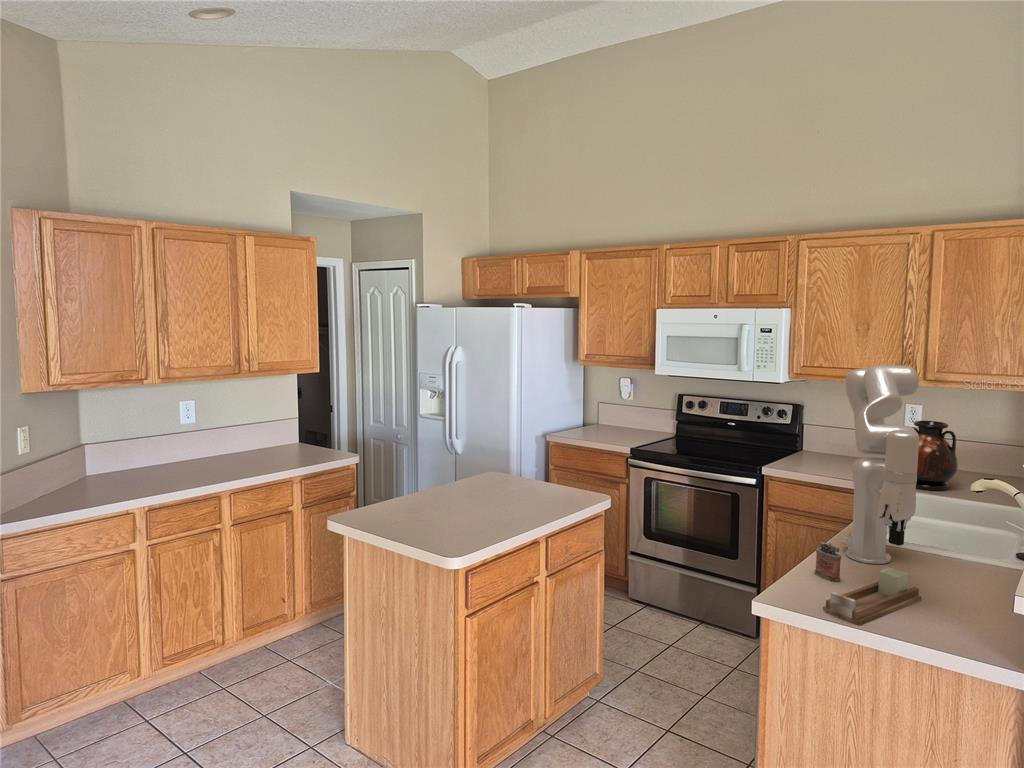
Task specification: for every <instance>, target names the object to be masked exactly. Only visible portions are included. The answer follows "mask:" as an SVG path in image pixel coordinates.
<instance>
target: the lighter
mask: <svg viewBox="0 0 1024 768" xmlns="http://www.w3.org/2000/svg"><path fill="white" fill-rule="evenodd" d="M819 544H820V545H819V546H820V547H817V548H815V552H816V557H815V570H814V574H815V575H816V574H817V575H816V576H818V575H819V576H818V577H820V576H821V577H820V578H822V577H823V578H822V579H824V578H825V580H826V579H828V580H827V581H829V580H830V582H832V581H833V582H832V583H840V582H841V577H840V576H841V561H842V560H841V559H842V555H841V554H839V553H840V548H839V547H838V546H836V545H833V544H832V543H831V542H825V541H824V542H823V541H820V543H819Z"/></svg>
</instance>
